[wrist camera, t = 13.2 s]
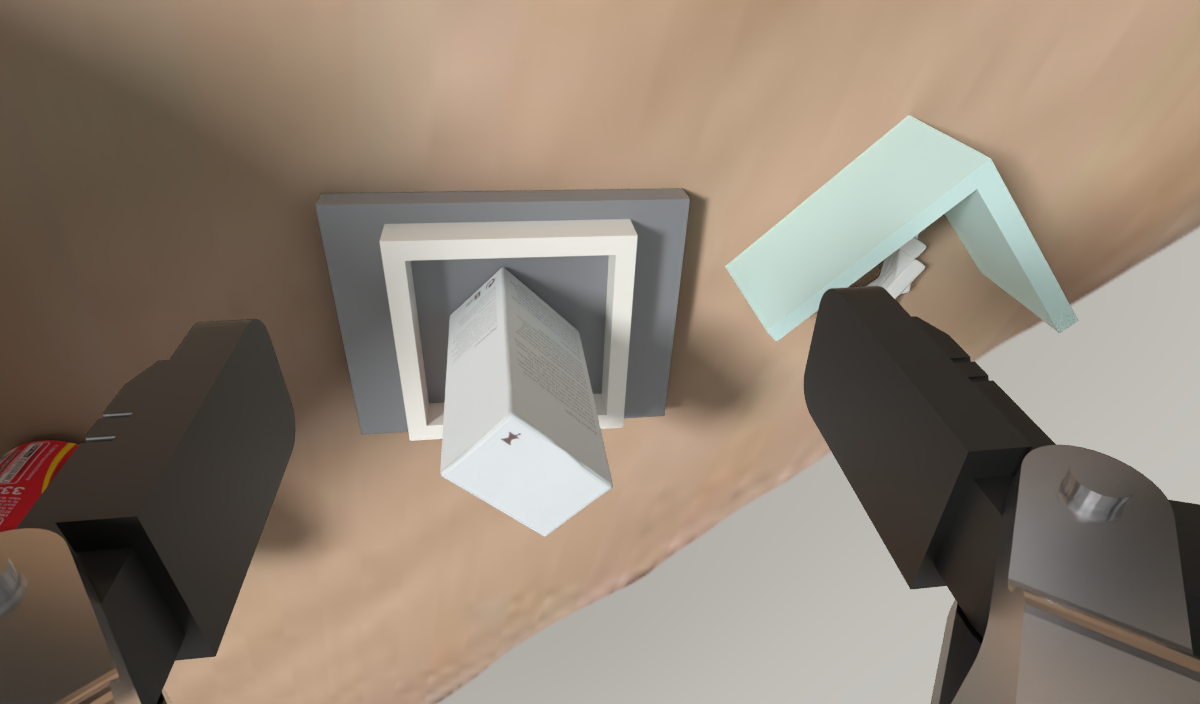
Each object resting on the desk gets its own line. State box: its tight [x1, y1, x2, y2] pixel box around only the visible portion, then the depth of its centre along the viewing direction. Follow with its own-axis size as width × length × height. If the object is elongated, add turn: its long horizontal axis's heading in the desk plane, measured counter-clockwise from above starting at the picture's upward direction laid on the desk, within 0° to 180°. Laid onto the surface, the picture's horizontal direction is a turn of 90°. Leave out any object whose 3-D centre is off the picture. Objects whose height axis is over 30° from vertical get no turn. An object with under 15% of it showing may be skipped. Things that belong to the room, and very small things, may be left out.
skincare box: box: [440, 267, 613, 537], centre depth 32 cm, size 6×4×12 cm
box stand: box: [315, 189, 690, 441], centre depth 37 cm, size 18×14×4 cm
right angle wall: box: [725, 115, 1078, 342], centre depth 37 cm, size 12×12×8 cm
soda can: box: [0, 440, 79, 532], centre depth 35 cm, size 7×7×12 cm
